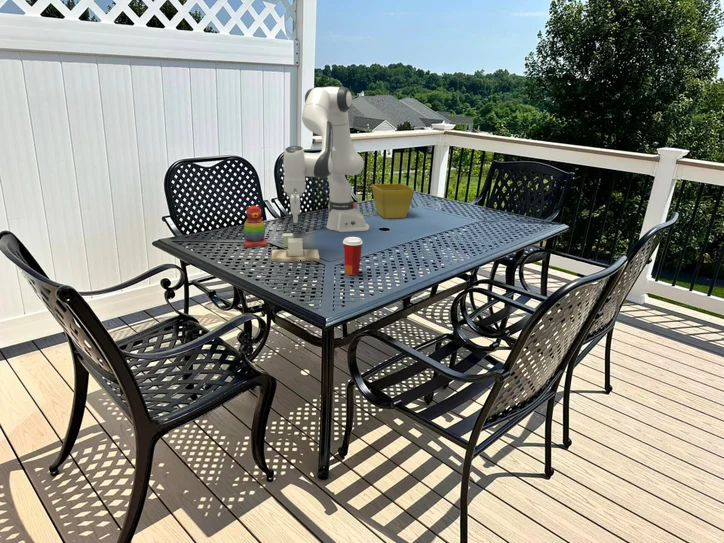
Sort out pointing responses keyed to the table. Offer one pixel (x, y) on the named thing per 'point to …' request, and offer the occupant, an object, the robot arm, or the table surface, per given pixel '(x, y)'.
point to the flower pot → (392, 199)
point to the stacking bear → (254, 228)
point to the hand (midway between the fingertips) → (295, 219)
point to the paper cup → (352, 255)
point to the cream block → (295, 247)
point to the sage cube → (286, 238)
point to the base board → (283, 256)
